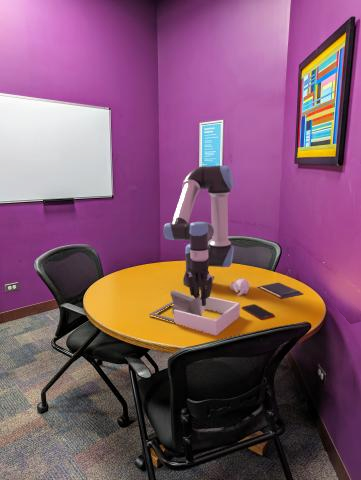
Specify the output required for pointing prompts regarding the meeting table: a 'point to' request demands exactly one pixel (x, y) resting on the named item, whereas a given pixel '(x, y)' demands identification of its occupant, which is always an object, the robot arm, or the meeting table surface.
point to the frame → (162, 316)
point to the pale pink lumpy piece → (240, 286)
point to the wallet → (280, 290)
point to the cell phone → (258, 312)
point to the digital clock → (184, 303)
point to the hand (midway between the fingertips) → (200, 312)
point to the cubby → (206, 324)
